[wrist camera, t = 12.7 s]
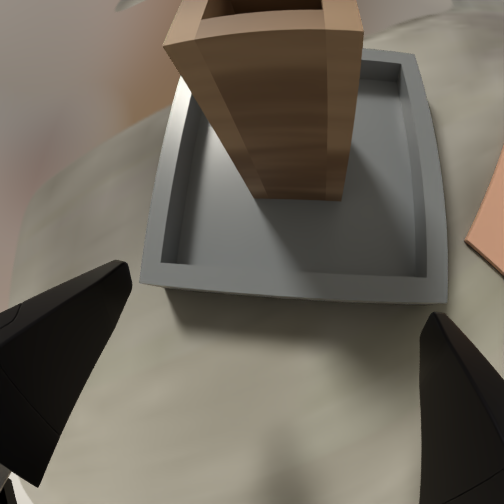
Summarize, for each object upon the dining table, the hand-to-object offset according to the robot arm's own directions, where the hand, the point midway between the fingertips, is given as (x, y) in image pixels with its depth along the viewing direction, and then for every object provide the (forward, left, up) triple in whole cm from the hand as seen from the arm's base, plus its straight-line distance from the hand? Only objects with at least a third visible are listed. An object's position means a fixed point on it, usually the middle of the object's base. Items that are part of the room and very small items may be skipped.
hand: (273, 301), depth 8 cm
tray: (+8, +2, -9) cm, 13 cm away
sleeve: (+8, +2, -8) cm, 12 cm away
